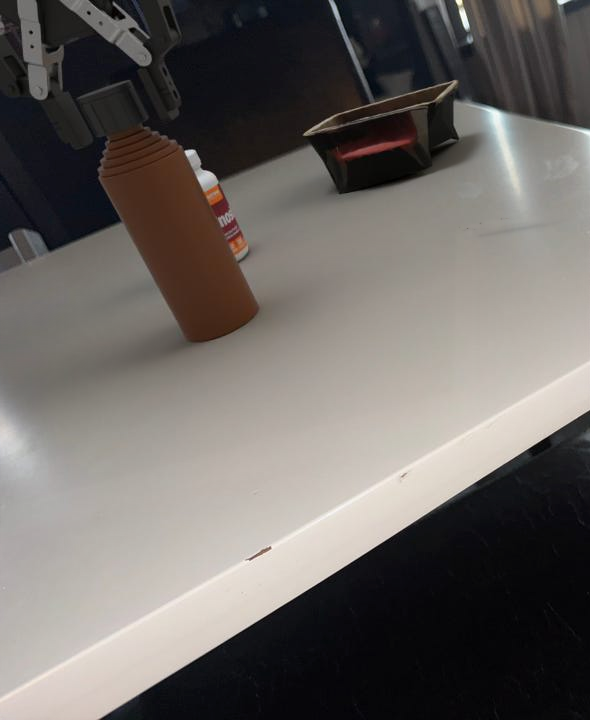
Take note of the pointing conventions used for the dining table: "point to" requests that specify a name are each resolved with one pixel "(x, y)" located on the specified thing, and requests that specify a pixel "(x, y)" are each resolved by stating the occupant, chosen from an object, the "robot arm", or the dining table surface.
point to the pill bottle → (219, 206)
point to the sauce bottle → (176, 232)
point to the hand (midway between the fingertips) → (127, 131)
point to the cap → (113, 108)
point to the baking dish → (385, 137)
